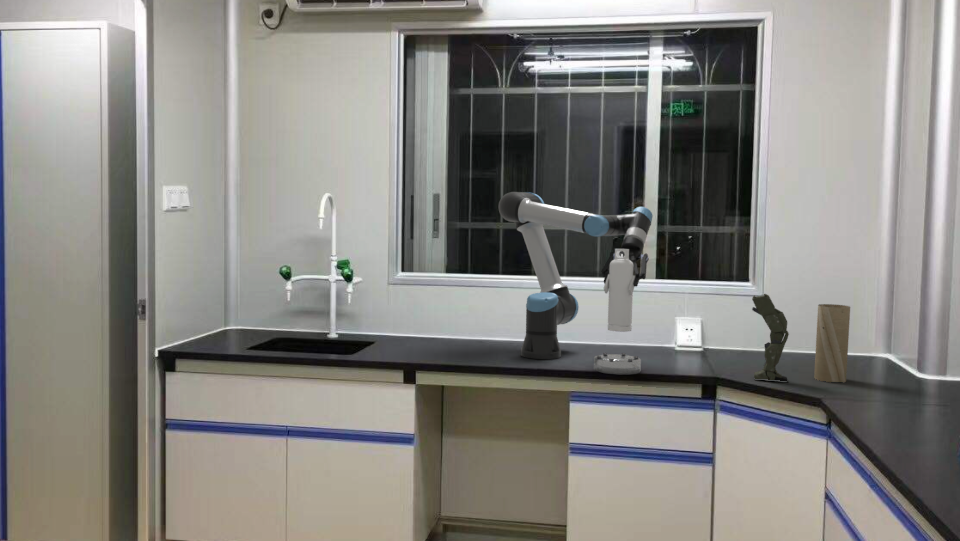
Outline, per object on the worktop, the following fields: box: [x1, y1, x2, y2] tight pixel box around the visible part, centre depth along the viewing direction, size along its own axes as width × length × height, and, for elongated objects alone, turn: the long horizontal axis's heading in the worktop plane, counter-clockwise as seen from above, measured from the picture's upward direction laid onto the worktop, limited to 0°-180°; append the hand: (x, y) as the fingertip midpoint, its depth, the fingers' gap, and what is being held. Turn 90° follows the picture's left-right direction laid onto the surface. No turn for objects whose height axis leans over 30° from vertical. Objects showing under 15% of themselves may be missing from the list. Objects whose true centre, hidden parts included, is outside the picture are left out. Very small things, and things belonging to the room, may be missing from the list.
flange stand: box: [593, 352, 642, 376], centre depth 291 cm, size 16×16×5 cm
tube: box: [813, 303, 851, 383], centre depth 281 cm, size 10×10×25 cm
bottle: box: [607, 248, 634, 333], centre depth 288 cm, size 8×8×28 cm
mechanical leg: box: [751, 293, 790, 381], centre depth 278 cm, size 14×7×30 cm, turn 71°
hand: (617, 291), depth 285 cm, fingers closed on bottle, 8 cm apart
